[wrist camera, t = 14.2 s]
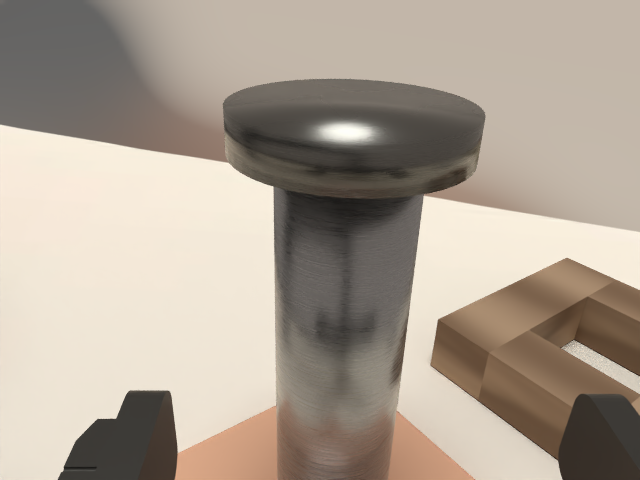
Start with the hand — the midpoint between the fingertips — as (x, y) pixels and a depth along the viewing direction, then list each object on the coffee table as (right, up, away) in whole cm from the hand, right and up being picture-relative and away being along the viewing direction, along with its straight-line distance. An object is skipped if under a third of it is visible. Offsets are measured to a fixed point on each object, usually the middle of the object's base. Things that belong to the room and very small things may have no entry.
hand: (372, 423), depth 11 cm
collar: (+13, -4, +18) cm, 22 cm away
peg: (-1, -6, +10) cm, 12 cm away
